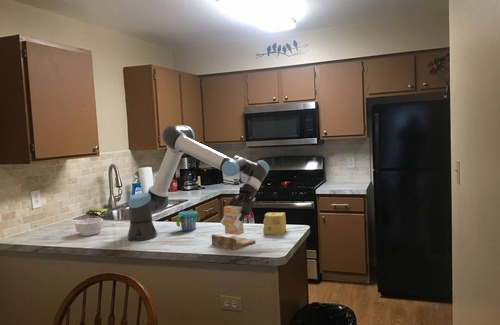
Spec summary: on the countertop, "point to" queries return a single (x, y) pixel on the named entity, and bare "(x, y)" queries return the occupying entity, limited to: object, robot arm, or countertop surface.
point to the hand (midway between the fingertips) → (228, 225)
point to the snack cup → (187, 220)
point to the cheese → (274, 223)
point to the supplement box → (232, 220)
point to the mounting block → (231, 241)
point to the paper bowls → (89, 226)
